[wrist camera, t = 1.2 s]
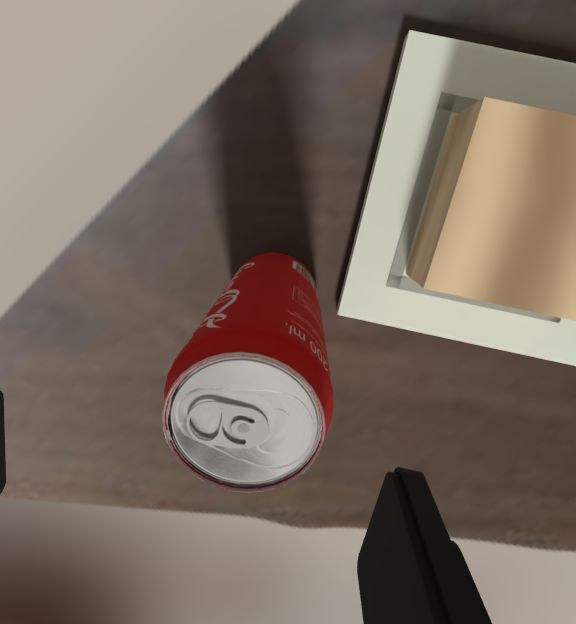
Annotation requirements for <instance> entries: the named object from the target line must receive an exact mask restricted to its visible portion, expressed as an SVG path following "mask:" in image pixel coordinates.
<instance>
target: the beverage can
mask: <svg viewBox="0 0 576 624" xmlns="http://www.w3.org/2000/svg"><path fill="white" fill-rule="evenodd" d="M333 406H334V405H333V390H332V384H331V377H330V371H329V364H328V358H327V352H326V345H325V339H324V332H323V326H322V319H321V313H320V307H319V300H318V294H317V288H316V284H315V281H314V278H313V276H312V274H311V273H310V271H309V270H308V269H307V267H306V266H305V265H304V264H303V263H301V262H300V261H299V260H297V259H296V258H294V257H292V256H290V255H286V254H283V253H275V252H271V253H263V254H260V255H257V256H255V257H253V258H251V259H249V260H248V261H247V262H245V263H244V264H243V265H242V266H241V267H240V269H239V270H238V271H237V272H236V274H235V275H234V277H233V278H232V280H231V281H230V282H229V284H228V285H227V287H226V288H225V290H224V291H223V292H222V294H221V295H220V297H219V298H218V299H217V301H216V302H215V304H214V305H213V307H212V308H211V309H210V311H209V312H208V314H207V315H206V317H205V318H204V319H203V321H202V322H201V324H200V325H199V327H198V328H197V329H196V331H195V332H194V334H193V335H192V337H191V338H190V339H189V341H188V342H187V344H186V345H185V347H184V348H183V349H182V351H181V352H180V354H179V355H178V357H177V358H176V359H175V361H174V363H173V365H172V367H171V369H170V371H169V373H168V376H167V381H166V385H165V390H164V408H163V430H164V434H165V438H166V441H167V443H168V445H169V447H170V449H171V451H172V453H173V454H174V456H175V457H176V458H177V460H178V461H179V462H180V464H182V465H183V466H184V467H185V468H186V469H187V470H188V471H189V472H190V473H191V474H193V475H195V476H196V477H198V478H199V479H201V480H202V481H204V482H207V483H209V484H211V485H213V486H216V487H219V488H223V489H226V490H230V491H239V492H261V491H265V490H270V489H275V488H277V487H280V486H282V485H285V484H287V483H289V482H291V481H292V480H294V479H296V478H297V477H299V476H300V475H301V474H302V473H304V472H305V471H306V470H307V469H308V468H309V467H310V466H311V464H312V463H313V461H314V460H315V459H316V457H317V456H318V453H319V451H320V448H321V446H322V444H323V440H324V437H325V435H326V433H327V430H328V428H329V426H330V423H331V419H332V413H333Z"/></svg>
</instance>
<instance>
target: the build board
mask: <svg viewBox="0 0 576 624" xmlns="http://www.w3.org/2000/svg"><path fill="white" fill-rule="evenodd" d="M483 97H487V98H492V99H497V100H502V101H507V102H512V103H517V104H522V105H526V106H531V107H536V108H541V109H546V110H551V111H556V112H561V113H566V114H571V115H575V116H576V63H571V62H566V61H561V60H556V59H551V58H546V57H541V56H536V55H531V54H526V53H521V52H516V51H511V50H506V49H502V48H497V47H492V46H487V45H482V44H477V43H472V42H467V41H462V40H457V39H452V38H447V37H442V36H437V35H432V34H427V33H422V32H417V31H412V30H409V32H408V34H407V36H406V38H405V40H404V44H403V48H402V51H401V55H400V59H399V63H398V67H397V71H396V75H395V79H394V83H393V87H392V91H391V95H390V99H389V103H388V107H387V111H386V115H385V119H384V123H383V127H382V131H381V135H380V139H379V143H378V147H377V151H376V155H375V159H374V163H373V167H372V171H371V175H370V179H369V183H368V187H367V191H366V195H365V199H364V203H363V207H362V211H361V215H360V219H359V223H358V227H357V231H356V235H355V239H354V243H353V247H352V251H351V255H350V259H349V263H348V267H347V271H346V275H345V279H344V283H343V287H342V291H341V295H340V299H339V303H338V307H337V314H338V315H341V316H346V317H351V318H355V319H360V320H365V321H369V322H374V323H379V324H383V325H388V326H393V327H397V328H402V329H406V330H411V331H416V332H420V333H425V334H430V335H434V336H439V337H444V338H448V339H453V340H458V341H462V342H467V343H472V344H476V345H481V346H486V347H490V348H495V349H499V350H504V351H509V352H513V353H518V354H523V355H527V356H532V357H537V358H541V359H546V360H551V361H555V362H560V363H565V364H569V365H574V366H576V321H573V320H569V319H564V318H559V317H555V316H550V315H545V314H540V313H536V312H531V311H526V310H522V309H517V308H512V307H508V306H503V305H498V304H494V303H489V302H484V301H479V300H475V299H470V298H465V297H461V296H456V295H451V294H447V293H442V292H437V291H433V290H428V289H423V288H422V287H421V286H420V285H419V284H417V283H416V282H415V281H414V280H413V279H411V278H410V277H409V276H408V275H407V274H406V272H407V269H408V266H409V262H410V259H411V256H412V253H413V249H414V246H415V243H416V239H417V236H418V233H419V229H420V226H421V223H422V219H423V216H424V213H425V209H426V206H427V203H428V199H429V196H430V193H431V189H432V186H433V183H434V179H435V176H436V173H437V169H438V166H439V163H440V159H441V156H442V153H443V149H444V146H445V143H446V139H447V136H448V133H449V129H450V126H451V123H452V119H453V116H455V115H456V114H458V113H459V112H461V111H463V110H464V109H466V108H467V107H469V106H471V105H472V104H474V103H475V102H477V101H479V100H480V99H482V98H483Z"/></svg>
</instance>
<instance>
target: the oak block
mask: <svg viewBox="0 0 576 624" xmlns="http://www.w3.org/2000/svg"><path fill="white" fill-rule="evenodd" d="M406 274H407V275H408V276H409V277H410V278H411V279H413V280H414V281H415V282H416V283H417V284H419V285H420V286H421V287H422V288H423V289H428V290H433V291H437V292H442V293H447V294H451V295H456V296H461V297H465V298H470V299H475V300H479V301H484V302H489V303H494V304H498V305H503V306H508V307H512V308H517V309H522V310H526V311H531V312H536V313H540V314H545V315H550V316H555V317H559V318H564V319H569V320H573V321H576V116H575V115H571V114H566V113H561V112H556V111H551V110H546V109H541V108H536V107H531V106H526V105H522V104H517V103H512V102H507V101H502V100H497V99H492V98H487V97H483V98H482V99H480V100H479V101H477V102H475V103H474V104H472V105H471V106H469V107H467V108H466V109H464V110H463V111H461V112H459V113H458V114H456V115H455V116H453V119H452V123H451V126H450V129H449V133H448V136H447V139H446V143H445V146H444V149H443V153H442V156H441V159H440V163H439V166H438V169H437V173H436V176H435V179H434V183H433V186H432V189H431V193H430V196H429V199H428V203H427V206H426V209H425V213H424V216H423V219H422V223H421V226H420V229H419V233H418V236H417V239H416V243H415V246H414V249H413V253H412V256H411V259H410V262H409V266H408V269H407V272H406Z"/></svg>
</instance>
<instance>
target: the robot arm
mask: <svg viewBox="0 0 576 624" xmlns="http://www.w3.org/2000/svg"><path fill="white" fill-rule="evenodd" d="M5 483H6V462H5V430H4V398H3V393H2V391H0V494H1V492H2V491H3V489H4V487H5ZM357 572H358V580H359V589H360V597H361V605H362V613H363V621H364V624H492V623H491V620H490V618H489V616H488V613H487V611H486V609H485V606H484V604H483V601H482V599H481V597H480V594H479V592H478V590H477V587H476V585H475V583H474V581H473V578H472V576H471V573H470V571H469V569H468V566H467V564H466V562H465V559H464V557H463V555H462V552H461V551H460V549H459V547H458V545H457V544H456V543H455V542H454V541H451V540H450V537H449V535H448V533H447V530H446V528H445V525H444V523H443V520H442V518H441V516H440V513H439V511H438V508H437V506H436V503H435V501H434V498H433V496H432V494H431V491H430V489H429V486H428V484H427V481H426V479H425V476H424V475H423V473H421V472H419V471H414V470H409V469H405V468H400V467H398V468H396V469H395V470H394V473H393V472H388V473H387V474H386V476H385V479H384V482H383V485H382V488H381V491H380V494H379V497H378V500H377V503H376V506H375V509H374V511H373V514H372V517H371V520H370V523H369V526H368V529H367V532H366V535H365V538H364V541H363V544H362V547H361V550H360V553H359V556H358V564H357Z"/></svg>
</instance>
